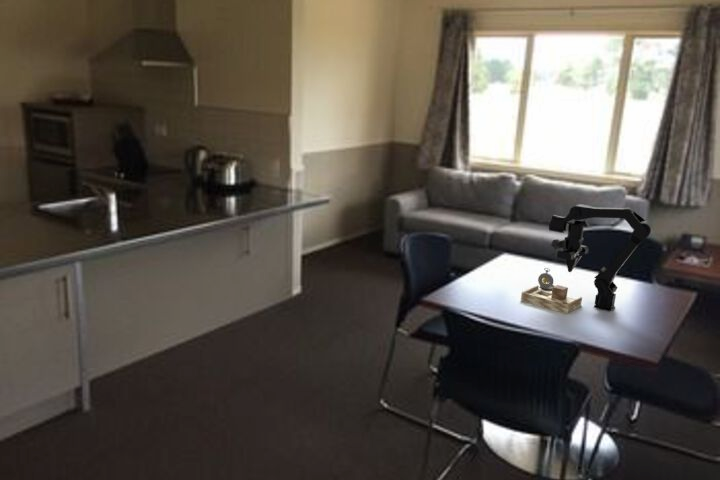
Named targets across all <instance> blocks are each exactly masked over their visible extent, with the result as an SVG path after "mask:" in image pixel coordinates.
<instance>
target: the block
mask: <svg viewBox="0 0 720 480" xmlns="http://www.w3.org/2000/svg"><path fill="white" fill-rule="evenodd" d="M568 290H569V287H567V286H563V285H559V284H557V285H556V284H555V285H554V287H553V289H552V291H551V293H552V296H551V298H555V299H558V300H564V299H566V298H567V297H568Z"/></svg>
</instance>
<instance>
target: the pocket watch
mask: <svg viewBox="0 0 720 480" xmlns="http://www.w3.org/2000/svg"><path fill="white" fill-rule="evenodd" d="M544 271H545V272H543V273H541V274H540V275H538V278H537V281H538V284H539V287H540V288H541V289H542V290H544V289H545V290H546V291H547V290H549V291H551V290H552V289H553V287H554V286H555V285H554V278H553V276H552V275H551V274H550V273H549V272H551V269H550V268H548V267H545V268H544Z"/></svg>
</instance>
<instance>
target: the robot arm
mask: <svg viewBox="0 0 720 480" xmlns="http://www.w3.org/2000/svg"><path fill="white" fill-rule="evenodd" d="M592 218H602V219H603V218H604V219H607V218H608V219H624V220H625V221H626V222H627V224H628V225H629V227H630V228H632V230H633V231H632V233H631V234H630V237H629V240H628V241H627V243H625V245H624V246H623V248H622V249H621V250H620V252H618V254H617V255H616V257H615V258H614V260H612V261H611V263H610V265H609V266H608V267H607V268H606V267H605V266H603V267H602V268H601V269H600V270H599V271H598V274H596V275H595V276H594V281H593V285H594V287H595V288H596V289H597V294H596V295H595V299H594V306H593V308H597V309H599V310H604V311H607V312H611V311H613V310H614V309H616V306H615V302H616V297H617V294H616V291H617V289H618V286H617V285H616V284H615V282H614V280H615V278H616V276H617V273H618V272H619V270H620V269H621V268H622V267H623V265H624V264H625V262H626V261H627V260H628V259H629V258H630V256H631V255H632V254H633V252H634V251H635V250H636V248H637V247H638V246H639V245H640V244H641V243H642V242H644V240H646V238H648V237H649V236H650V235H651V234H652V233H653V232H654V230H655V229H654V225H653V223H652V222H650V221H649V220H646V219H645V218H643V216H642V215H640V214H638V213H637V211H635V210H634V209H633V208H632V207H595V206H592V205H588V204H582V203H579V204H576V205H573V206H572V207H571V208H570V210H569V212H568V214H567V215H566V216H561V215H560V216H559V215H557V214H553V215H551V219H550V222H549V223H548V230H549V232H554V233H560V234H565V233H566V232H567V236H566V237H564V239H559V238H558V239H553V240H552V242H551V245H550V246H551V247H552V249H553V250H558V249H559V250H558V251H556V254H555V257H556V258H557V259H558V258H559V259H563V260H565V261H566V266H567V268H566V269H567V271H568V273H571V272H572V271H573V270H574V268H575V267H576V266H577V264H578V263H579V261H580V260H581V258H582V257H583V255H581V254H580V252H581V253H584V254H585V255H587V254H589V247H588V246H587V245H583V244H582V243H583V241H584V240H585V238H584V237H583V235H584V229H585V227H588V226H590V223H589V222H588V221H587V219H592ZM573 220H574V221H573Z"/></svg>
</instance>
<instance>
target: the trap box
mask: <svg viewBox="0 0 720 480" xmlns="http://www.w3.org/2000/svg"><path fill="white" fill-rule="evenodd" d="M539 287H540V285H537V284H536V285H535V286H532V287H531V288H529V289H526V290H524V291H522V292H521V297H520V301H522V302H525V303H528V304H533V305H535V306H539V307H543V308H545V309H549V310H553V311H556V312H559V313H563V314H569V313H571V312H572V311H574V310H576V309H577V308H579V307H581V306H582V301H583V297H581V296H580V297H578V298H576V299H575V298H573V297H568V296H567V298H566V299H564V300H558V299H555V298H551V296H552V291H551V292H550V291H547V290H544V289H539Z"/></svg>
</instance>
